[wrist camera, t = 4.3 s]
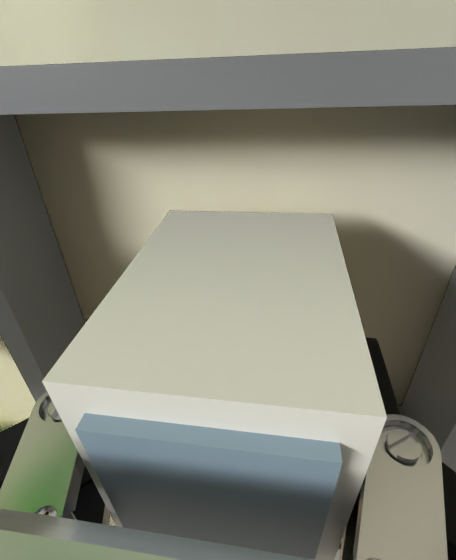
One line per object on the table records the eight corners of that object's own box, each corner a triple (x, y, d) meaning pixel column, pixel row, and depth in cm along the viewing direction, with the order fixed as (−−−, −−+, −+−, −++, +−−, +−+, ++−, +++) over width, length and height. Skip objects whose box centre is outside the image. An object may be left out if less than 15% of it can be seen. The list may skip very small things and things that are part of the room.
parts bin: (582, 43, 9) (729, 35, 6) (417, 419, 17) (444, 491, 15) (-29, 69, 11) (-139, 72, 8) (92, 389, 20) (59, 446, 17)
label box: (332, 214, 10) (392, 438, 4) (309, 373, 14) (324, 604, 8) (170, 210, 11) (29, 398, 5) (191, 363, 15) (126, 568, 9)
